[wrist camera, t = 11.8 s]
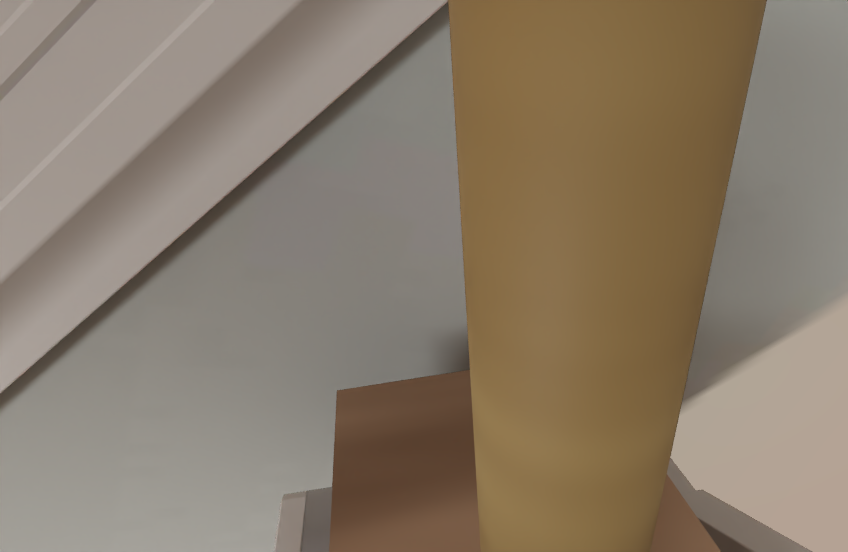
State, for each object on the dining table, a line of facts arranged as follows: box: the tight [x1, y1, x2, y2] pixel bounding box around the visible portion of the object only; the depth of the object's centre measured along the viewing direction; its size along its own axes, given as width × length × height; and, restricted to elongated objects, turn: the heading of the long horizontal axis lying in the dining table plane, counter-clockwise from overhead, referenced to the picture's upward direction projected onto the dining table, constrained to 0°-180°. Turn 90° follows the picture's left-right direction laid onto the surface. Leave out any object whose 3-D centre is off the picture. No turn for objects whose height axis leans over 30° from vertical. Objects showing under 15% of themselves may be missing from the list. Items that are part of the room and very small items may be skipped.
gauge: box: [329, 0, 767, 552], centre depth 6 cm, size 12×5×6 cm, turn 5°
